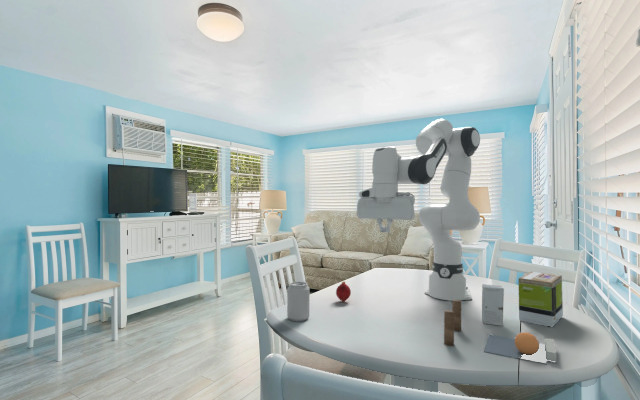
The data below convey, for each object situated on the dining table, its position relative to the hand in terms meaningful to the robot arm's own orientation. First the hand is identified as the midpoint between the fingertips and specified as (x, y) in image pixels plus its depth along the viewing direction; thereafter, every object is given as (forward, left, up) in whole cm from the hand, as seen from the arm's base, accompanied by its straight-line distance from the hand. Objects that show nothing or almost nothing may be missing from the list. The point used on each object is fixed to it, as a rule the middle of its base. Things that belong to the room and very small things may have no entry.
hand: (384, 232), depth 122 cm
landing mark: (+7, +40, -29) cm, 50 cm away
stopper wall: (+7, +48, -29) cm, 57 cm away
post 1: (+14, +24, -29) cm, 40 cm away
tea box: (-25, +47, -29) cm, 61 cm away
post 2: (+1, +24, -29) cm, 38 cm away
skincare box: (-12, +33, -29) cm, 46 cm away
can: (+18, -24, -29) cm, 42 cm away
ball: (+10, +43, -26) cm, 51 cm away
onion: (-8, -20, -29) cm, 36 cm away
